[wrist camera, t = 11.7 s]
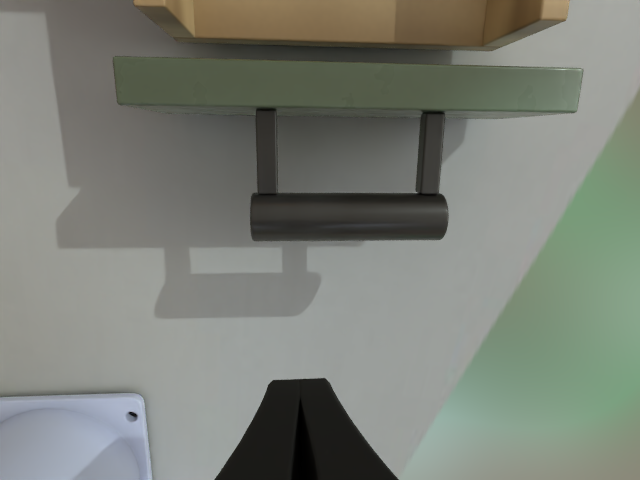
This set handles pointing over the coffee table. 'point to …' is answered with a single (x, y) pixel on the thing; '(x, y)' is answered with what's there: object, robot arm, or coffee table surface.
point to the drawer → (349, 92)
